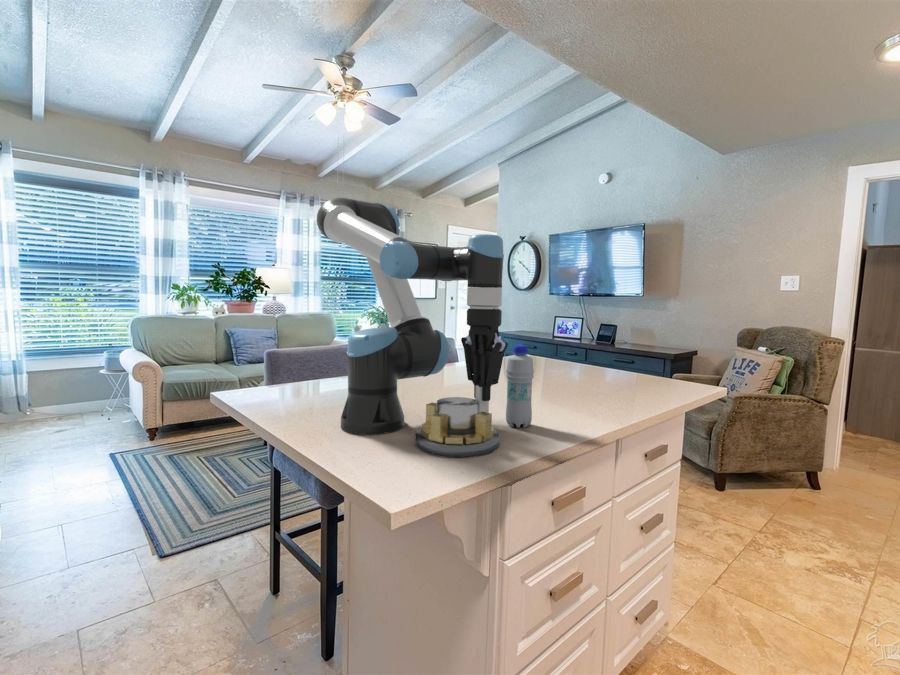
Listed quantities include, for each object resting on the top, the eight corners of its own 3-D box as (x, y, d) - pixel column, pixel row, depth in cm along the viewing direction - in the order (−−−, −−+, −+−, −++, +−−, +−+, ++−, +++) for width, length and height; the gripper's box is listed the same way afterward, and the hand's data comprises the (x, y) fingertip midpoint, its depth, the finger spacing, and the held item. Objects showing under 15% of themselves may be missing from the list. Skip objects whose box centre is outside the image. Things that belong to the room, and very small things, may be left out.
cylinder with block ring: (467, 449, 87) (467, 422, 86) (406, 434, 96) (406, 410, 95) (506, 430, 99) (507, 407, 99) (449, 418, 108) (449, 397, 108)
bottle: (531, 430, 107) (534, 346, 106) (503, 428, 109) (505, 345, 107) (532, 422, 114) (535, 343, 112) (505, 420, 115) (507, 342, 113)
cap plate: (401, 451, 92) (401, 407, 91) (433, 427, 109) (433, 390, 108) (487, 462, 86) (488, 416, 85) (507, 435, 103) (507, 396, 102)
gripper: (518, 308, 95) (514, 418, 98) (477, 306, 106) (475, 405, 108) (491, 309, 91) (488, 424, 93) (452, 306, 101) (450, 410, 104)
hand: (481, 414), depth 101 cm, fingers closed
